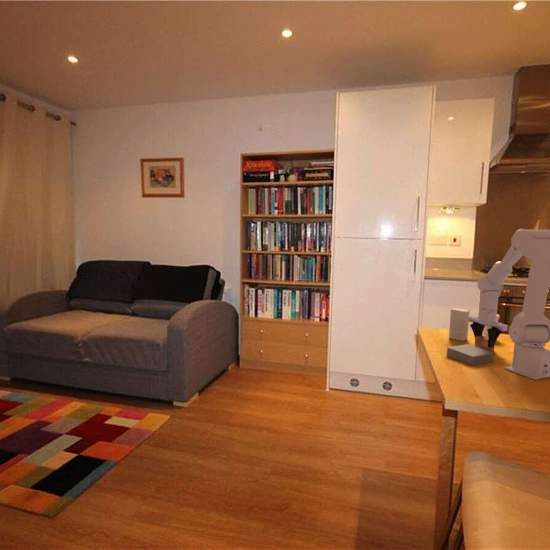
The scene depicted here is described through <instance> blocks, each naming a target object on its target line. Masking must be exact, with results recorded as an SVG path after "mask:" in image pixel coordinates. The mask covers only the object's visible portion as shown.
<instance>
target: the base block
mask: <svg viewBox="0 0 550 550" xmlns="http://www.w3.org/2000/svg"><path fill="white" fill-rule="evenodd" d="M446 356H447V357H449V358H451V357H452V359H455V360H457V361H460V362H462V363H465V364H467V365H469V366H477V365H482V364H488V363H493V362H494V356H495V353H494V352H493V351H487V350H484V349H481V348H478V347H475V345H471V344H468V343H465V344H460V345H453V346H447V348H446Z"/></svg>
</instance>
